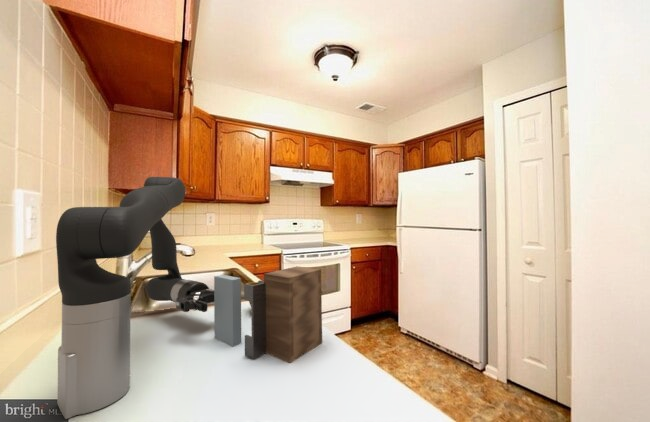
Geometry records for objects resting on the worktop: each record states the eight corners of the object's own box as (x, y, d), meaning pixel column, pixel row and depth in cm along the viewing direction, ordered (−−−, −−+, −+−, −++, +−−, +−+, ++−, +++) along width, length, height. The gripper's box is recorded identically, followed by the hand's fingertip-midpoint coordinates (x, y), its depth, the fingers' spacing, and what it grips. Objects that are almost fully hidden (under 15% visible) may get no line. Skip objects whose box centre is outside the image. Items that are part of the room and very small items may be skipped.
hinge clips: (253, 360, 58) (253, 286, 59) (244, 355, 60) (244, 284, 61) (269, 351, 62) (268, 281, 63) (260, 347, 64) (260, 280, 64)
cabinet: (289, 363, 57) (288, 277, 57) (264, 352, 62) (263, 273, 62) (322, 342, 66) (321, 269, 67) (298, 334, 71) (297, 266, 71)
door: (232, 346, 65) (232, 280, 65) (214, 338, 69) (214, 276, 70) (241, 343, 67) (240, 278, 67) (222, 335, 71) (222, 274, 72)
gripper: (164, 285, 74) (194, 295, 64) (212, 276, 85) (244, 283, 76) (164, 313, 74) (194, 326, 64) (212, 300, 85) (244, 309, 75)
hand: (221, 303), depth 70 cm, fingers open, 8 cm apart
